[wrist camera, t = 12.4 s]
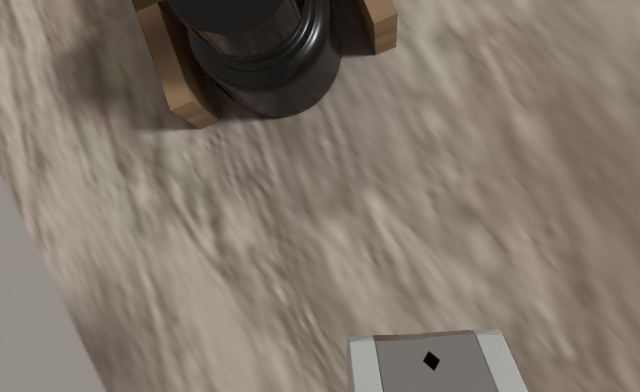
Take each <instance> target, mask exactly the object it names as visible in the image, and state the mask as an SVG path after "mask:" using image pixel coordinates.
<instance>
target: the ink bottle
mask: <svg viewBox="0 0 640 392" xmlns="http://www.w3.org/2000/svg"><path fill="white" fill-rule="evenodd" d="M168 2H169V4H170V5H171V7H172V9H173V10H174V12H175V15H176V16H177V17H178V18H179V19H180V20H181V22H182V23H183V24H184V25H185V26H186V27H187V36H188V42H189V45H190V49H191V51H192V54H193V56H194V58H195V60H196V61H197V63H198V64H199V66H200V67H201V68H202V69H203V71H204V72H205V73H206V74H207V75H208V76H209V77H210V78H211V79H212V81H213V82H214V83H215V84H216V85H217V86H218V87H219V88H221V89H222V90H223V91H224V92H225V93H226V94H227V95H228V96H229V97H230V98H231V99H233V100H235V101H236V102H237V103H238V104H240V105H241V106H242V107H244V108H246V109H248V110H249V111H252V112H254V113H257V114H260V115H264V116H271V117H284V116H291V115H295V114H298V113H301V112H303V111H305V110H307V109H309V108H311V107H312V106H314V105H315V104H316V103H317V102H318V101H320V100H321V99H322V97H323V96H324V95H325V94H326V93H327V91H328V90H329V89H330V87H331V85H332V84H333V82H334V80H335V78H336V75H337V72H338V69H339V65H340V60H341V41H340V36H339V32H338V27H337V23H336V19H335V14H334V10H333V6H332V1H331V0H168Z"/></svg>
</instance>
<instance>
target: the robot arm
mask: <svg viewBox="0 0 640 392" xmlns="http://www.w3.org/2000/svg"><path fill="white" fill-rule="evenodd" d="M347 374H348V392H528V391H527V389H526V387H525V385H524V382H523V380H522V378H521V376H520V373H519V371H518V369H517V367H516V364H515V362H514V360H513V358H512V355H511V353H510V351H509V349H508V346H507V344H506V342H505V340H504V337H503V335H502V333H501V332H500V331H499V330H498V329H487V330H472V331H470V330H462V331H448V332H433V333H422V334H408V335H374V336H353V337H348V338H347Z"/></svg>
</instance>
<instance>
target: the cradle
mask: <svg viewBox="0 0 640 392" xmlns="http://www.w3.org/2000/svg"><path fill="white" fill-rule="evenodd" d="M132 2H133V4H134V7H135V10H136V13H137V16H138V19H139V22H140V25H141V27H142V30H143V33H144V36H145V39H146V42H147V45H148V48H149V50H150V53H151V56H152V59H153V62H154V65H155V68H156V70H157V73H158V76H159V79H160V82H161V85H162V88H163V91H164V93H165V96H166V99H167V102H168V105H169V108H170V111H172V112H174V113H175V114H177V115H178V116H180V117H182V118H183V119H185V120H186V121H188V122H190V123H191V124H193V125H194V126H196V127H198V128H199V129H201V128H204V127H206V126H208V125H211V124H213V123H216V122H218V121H219V119H218V117H217V114H216V111H215V108H214V106H213V103H212V100H211V97H210V95H209V92H208V89H207V86H206V84H205V81H204V78H203V75H202V73H201V70H200V67H199V64H198V63H197V61H196V60H195V58H194V56H193V54H192V51H191V49H190V45H189V42H188V36H187V27H186V26H185V25H184V24H183V23H182V22H181V20H180V19H179V18H178V17H177V16H176V15H175V12H174V10H173V9H172V7H171V5H170V4H169V2H168V0H132ZM353 2H354V4H355V6H356V9H357V11H358V14H359V16H360V18H361V21H362V23H363V25H364V28H365V30H366V33H367V35H368V37H369V40H370V42H371V45H372V47H373V49H374V52H375V54H376V55H377V54H380V53H382V52H384V51H387V50H389V49H391V48H394V47H396V38H397V15H398V14H397V11H396V9H395V7H394V4H393V2H392V0H353Z"/></svg>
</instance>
